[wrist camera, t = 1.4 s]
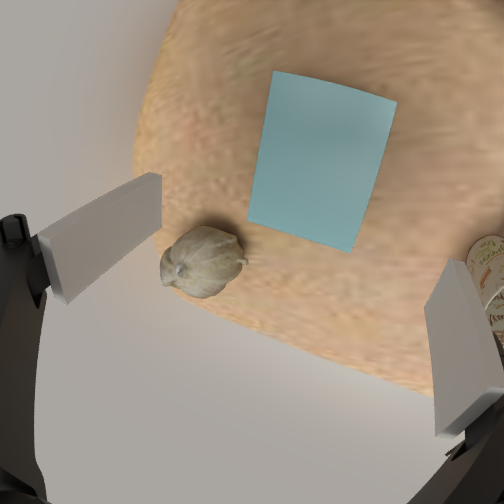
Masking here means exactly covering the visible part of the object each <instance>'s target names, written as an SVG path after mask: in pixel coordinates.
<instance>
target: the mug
mask: <svg viewBox="0 0 504 504" xmlns="http://www.w3.org/2000/svg"><path fill="white" fill-rule="evenodd" d="M466 267H467V269H468V272H469V274H470V276H471V278H472V281H473V283H474V285H475V288H476V290H477V293H478V295H479V298H480V300H481V303H482V305H483V308H484V311H485V313H486V316H487V319H488V322H489V324H490V327H491V330H492V333H494V334H496V336H497V337H498V339H499V340H500V342H501V343H502V345H503V348H504V239H503V238H501V237H499V236H496V235H490V236H486V237H483V238H481V239H480V240H478V241H477V242H476V243H475V244H474V245H473V246H472V248H471V249H470V251H469V254H468V256H467V261H466Z"/></svg>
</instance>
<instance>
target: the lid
mask: <svg viewBox="0 0 504 504" xmlns="http://www.w3.org/2000/svg"><path fill="white" fill-rule="evenodd" d="M396 106H397V102H395V101H392V100H389V99H386V98H383V97H380V96H377V95H374V94H371V93H367V92H364V91H361V90H357V89H354V88H350V87H347V86H343V85H339V84H335V83H331V82H327V81H323V80H319V79H314V78H310V77H305V76H300V75H295V74H290V73H285V72H279V71H274V70H273V75H272V80H271V86H270V91H269V97H268V102H267V108H266V113H265V119H264V124H263V130H262V135H261V141H260V147H259V152H258V158H257V163H256V169H255V175H254V181H253V186H252V192H251V198H250V204H249V209H248V215H247V221H250V222H253V223H256V224H259V225H263V226H266V227H269V228H272V229H276V230H279V231H282V232H285V233H289V234H292V235H295V236H298V237H301V238H304V239H308V240H311V241H314V242H317V243H320V244H323V245H326V246H329V247H333V248H336V249H339V250H342V251H345V252H348V253H351V250H352V248H353V245H354V242H355V240H356V237H357V234H358V231H359V228H360V226H361V223H362V220H363V217H364V214H365V211H366V208H367V205H368V202H369V199H370V196H371V193H372V190H373V187H374V184H375V181H376V177H377V174H378V171H379V168H380V164H381V161H382V158H383V154H384V151H385V147H386V144H387V140H388V137H389V133H390V129H391V125H392V122H393V118H394V114H395V110H396Z"/></svg>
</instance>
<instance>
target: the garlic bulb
mask: <svg viewBox="0 0 504 504" xmlns="http://www.w3.org/2000/svg"><path fill="white" fill-rule="evenodd" d="M242 255H243V250H242V248H241V247H240V245H239V243H238V241H237V237H236V236H235V235H232V234H229V233H226V232H224V231H221V230H218V229H216V228H212V227H208V226H200V227H197V228H194V229H193V230H191V231H189V232H188V233H186V234H185V235H183V236H182V237H180V238H179V239H178V240H177V241H176V242H175V243H174V244H173V246H171V247H169V248H168V249H167V250H166V251H165V252H164V254H163V256H162V258H161V262H160V276H161V282H162V285H163V286H172V287H175V288H178V289H180V290H182V291H183V292H184V293H185V294H187V295H189V296H192V297H195V298H202V299H204V298H208V297H210V296H215V295H217V294H218V293H219V292H220V291H221V290H223V289H224V288H225V285H226V284H227V283H228V282H229V281H231V280H233V279H234V278H236V277H237V276H238V274H239V273H240V272H241V270H242V263H243V264H244V265H246V266H247V265H248V259H246V258H242Z"/></svg>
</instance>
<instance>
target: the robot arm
mask: <svg viewBox="0 0 504 504" xmlns="http://www.w3.org/2000/svg"><path fill="white" fill-rule="evenodd" d="M161 197H162V175H159V174H155V173H150V172H148V173H146V174H144V175H142V176H140V177H138V178H136V179H134V180H132V181H130V182H128V183H126V184H124V185H122V186H120V187H118V188H116V189H114V190H112V191H110V192H108V193H107V194H105V195H103V196H101V197H99V198H97V199H95V200H93V201H92V202H90V203H88V204H86V205H84V206H83V207H81V208H79V209H77V210H75V211H74V212H72V213H70V214H69V215H67V216H65V217H63V218H62V219H60V220H59V221H57V222H55V223H54V224H52V225H50V226H49V227H47V228H45V229H44V230H42V231H40V232H39V233H37V234H36V235H34V236H33V237H30V233H29V228H28V224H27V219H26V216H25V215H23V214H13V215H9V216H6V217H4V218H2V219H1V220H0V504H51V503H49V502H47V496H46V489H45V483H44V478H43V476H42V472H41V471H40V469H39V467H38V465H37V462H36V459H35V449H34V400H35V381H36V369H37V359H38V351H39V343H40V335H41V328H42V322H43V316H44V310H45V305H46V300H47V293H46V291H45V289H46V288H47V287H49V286H50V285H51V288H52V291H53V294H54V297H55V298H56V299H58V300H60V301H61V302H63V303H64V304H66V305H67V304H69V303H70V302H71V301H72V300H73V299H74V298H75V297H77V296H78V295H79V294H80V293H81V292H82V291H84V290H85V289H86V288H87V287H88V286H89V285H91V284H92V283H93V282H94V281H95V280H96V279H98V278H99V277H100V276H101V275H102V274H104V273H105V272H106V271H107V270H108V269H109V268H111V267H112V266H113V265H114V264H116V263H117V262H118V261H119V260H120V259H122V258H123V257H124V256H125V255H127V254H128V253H129V252H130V251H132V250H133V249H134V248H135V247H137V246H138V245H139V244H141V243H142V242H143V241H144V240H146V239H147V238H148V237H149V236H151V235H152V234H153V233H155V232H156V231H157V230H159V229H160V228H161V227H162V223H161ZM424 311H425V317H426V324H427V331H428V338H429V346H430V355H431V364H432V375H433V388H434V407H435V437H440V438H448V439H454V438H455V437H456V436H457V435H459V434H460V433H461V432H462V431H463V430H465V440H463V441H462V442H461V443H460V444H458V445H457V446H455V447H454V448H453V449H451V450H450V451H449V452H447V453H446V454H445V455H446V456H448V455H450V454H451V453H452V454H451V455H450V456H449V457H448V459H447V460H446V461H445V462H444V464H443V465H442V466H441V467H440V469H439V470H438V471H437V472H436V473H435V474H434V475H433V477H432V478H431V479H430V480H429V481H428V482H427V483H426V484H425V485H424V487H423V488H422V489H421V490H420V491H419V492H418V493H417V494H416V495H415V496H414V497H413V498H412V499H411V500H410V501H409V502H408V503H407V504H504V348H503V345H502V343H501V342H500V340H499V339H498V337H497V336H496V334H494V333H492V330H491V327H490V324H489V322H488V319H487V316H486V313H485V311H484V308H483V305H482V303H481V300H480V298H479V295H478V293H477V290H476V288H475V285H474V283H473V281H472V278H471V276H470V274H469V272H468V269H467V267H466V265H465V263H464V262H462V261H459V260H456V259H454V258H451V257H450V259H449V261H448V263H447V265H446V267H445V269H444V271H443V273H442V275H441V277H440V279H439V281H438V283H437V284H436V286H435V288H434V290H433V292H432V294H431V296H430V297H429V299H428V301H427V303H426V305H425V306H424Z"/></svg>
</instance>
